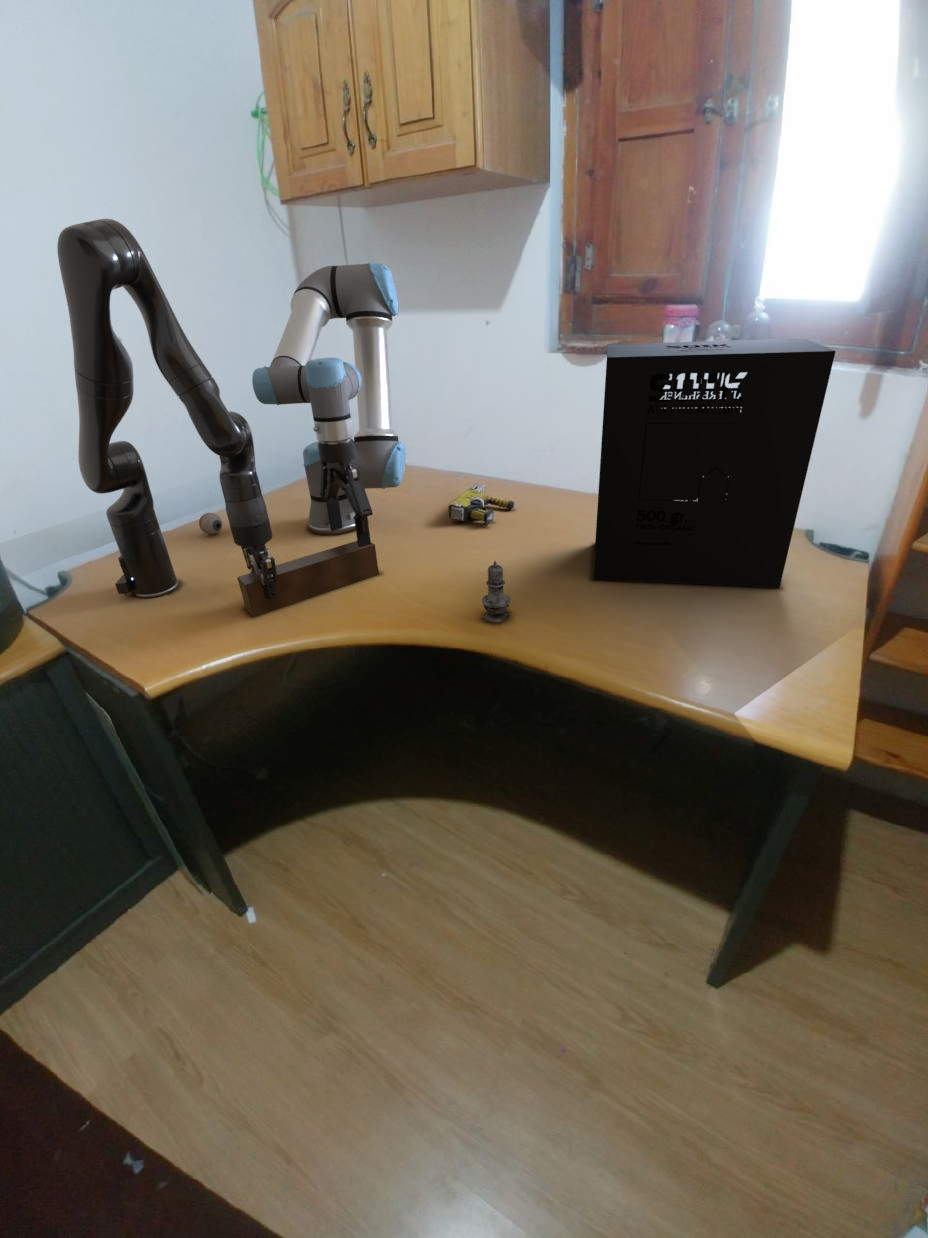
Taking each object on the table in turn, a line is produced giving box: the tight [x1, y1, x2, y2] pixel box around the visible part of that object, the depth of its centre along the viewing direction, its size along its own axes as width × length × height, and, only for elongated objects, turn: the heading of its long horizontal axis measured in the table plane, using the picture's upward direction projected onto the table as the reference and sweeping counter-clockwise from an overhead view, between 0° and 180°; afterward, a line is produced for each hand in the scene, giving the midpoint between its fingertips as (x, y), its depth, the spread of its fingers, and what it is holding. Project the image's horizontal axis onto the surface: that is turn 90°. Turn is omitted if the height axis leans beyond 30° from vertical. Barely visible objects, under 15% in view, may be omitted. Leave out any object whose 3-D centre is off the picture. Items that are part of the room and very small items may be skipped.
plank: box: [236, 540, 380, 618], centre depth 133 cm, size 30×5×8 cm, turn 126°
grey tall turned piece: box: [480, 560, 512, 623], centre depth 117 cm, size 6×6×12 cm
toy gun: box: [447, 482, 515, 525], centre depth 172 cm, size 5×24×15 cm
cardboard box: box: [592, 337, 836, 589], centre depth 125 cm, size 38×20×45 cm, turn 78°
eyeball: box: [198, 512, 223, 536], centre depth 167 cm, size 6×6×6 cm
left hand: (266, 593), depth 128 cm, fingers closed on plank, 5 cm apart
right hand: (350, 536), depth 134 cm, fingers open, 13 cm apart
